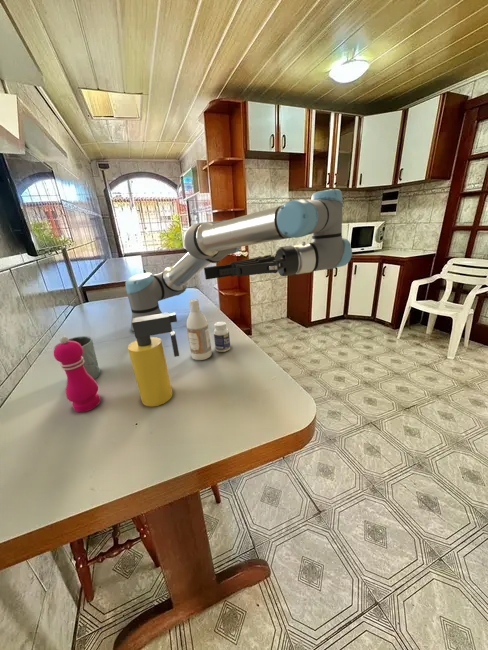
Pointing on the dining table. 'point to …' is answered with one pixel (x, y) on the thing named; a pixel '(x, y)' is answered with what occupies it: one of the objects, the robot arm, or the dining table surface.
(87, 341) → the gray cup
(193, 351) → the bath foam
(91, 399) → the pepper mill
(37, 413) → the dining table surface
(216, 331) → the pill bottle
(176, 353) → the trigger
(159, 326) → the spray bottle
